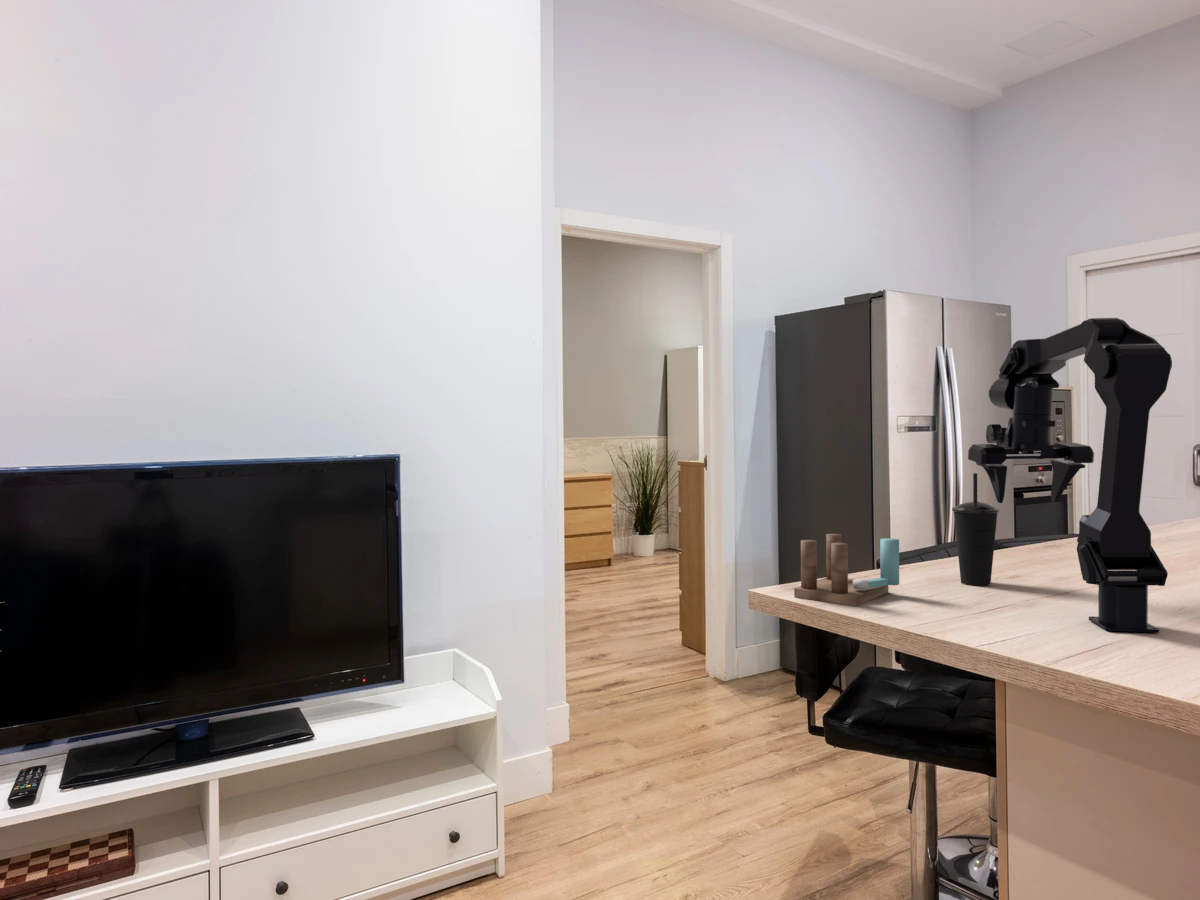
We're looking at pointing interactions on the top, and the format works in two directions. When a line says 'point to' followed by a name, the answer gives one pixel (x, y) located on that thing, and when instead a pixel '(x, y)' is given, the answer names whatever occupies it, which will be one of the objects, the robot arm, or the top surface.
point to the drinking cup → (975, 539)
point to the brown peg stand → (831, 575)
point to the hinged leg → (884, 566)
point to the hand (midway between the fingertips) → (1026, 502)
